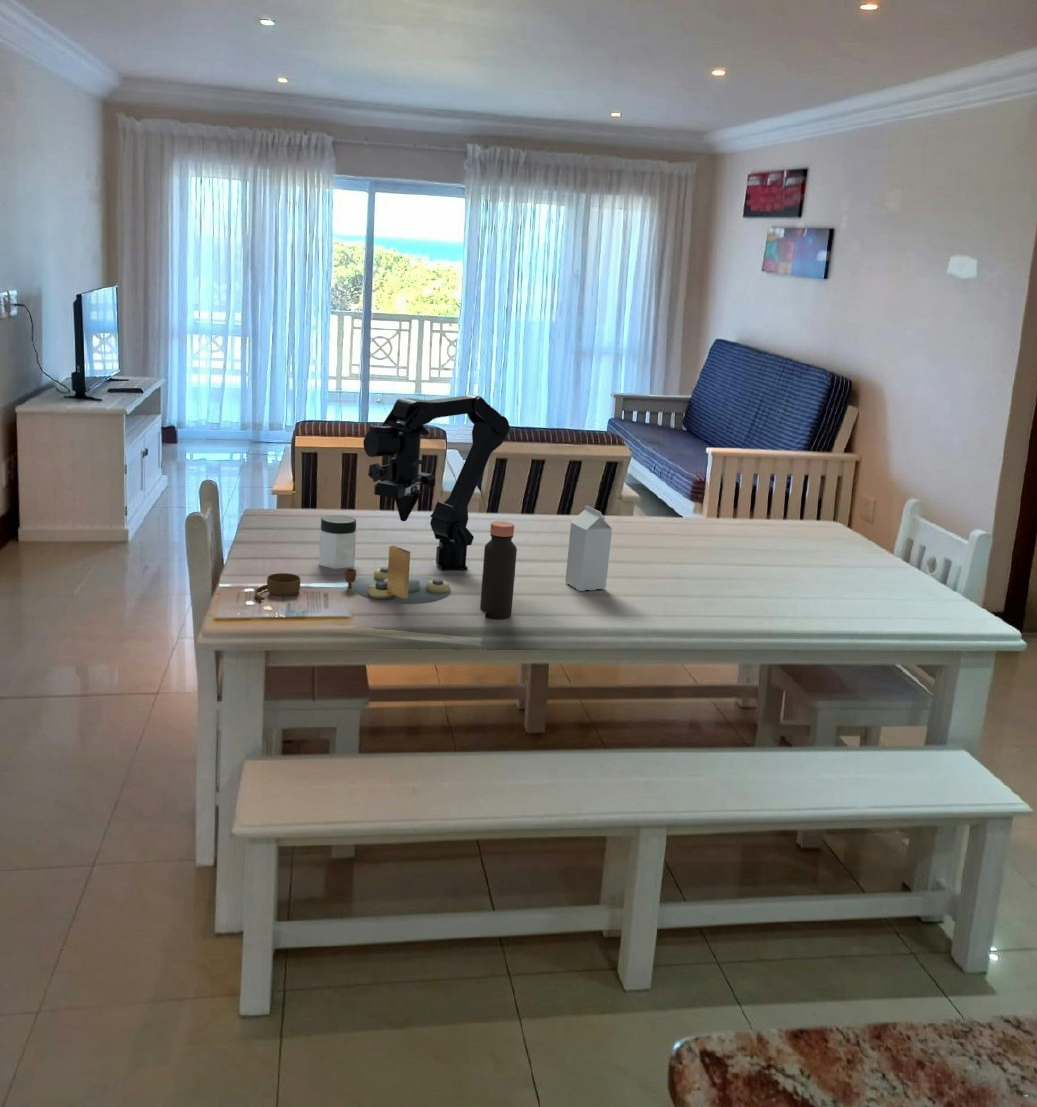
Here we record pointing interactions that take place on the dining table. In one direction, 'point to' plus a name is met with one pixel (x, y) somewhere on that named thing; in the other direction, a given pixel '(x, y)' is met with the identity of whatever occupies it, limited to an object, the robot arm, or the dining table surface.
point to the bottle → (499, 571)
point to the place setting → (293, 583)
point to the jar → (337, 541)
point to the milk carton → (588, 551)
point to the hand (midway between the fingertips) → (403, 520)
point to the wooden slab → (393, 576)
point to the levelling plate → (418, 588)
